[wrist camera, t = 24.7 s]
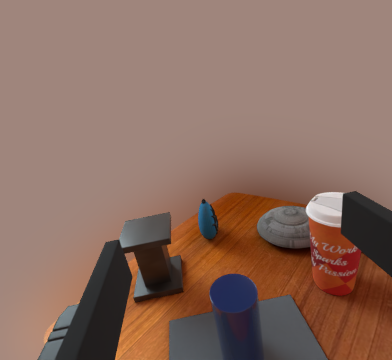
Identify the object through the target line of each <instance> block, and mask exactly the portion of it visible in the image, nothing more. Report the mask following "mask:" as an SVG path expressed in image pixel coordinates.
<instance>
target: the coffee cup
mask: <svg viewBox="0 0 392 360" xmlns="http://www.w3.org/2000/svg"><path fill="white" fill-rule="evenodd" d="M343 194H344V193H339V192H328V193H322V194H318V195H316V196H315V197H314V198H313V199H312V200H311V201H310V202H309V204H308V205H307V207H306V213H307V215H308V216H309V231H310V245H311V258H312V270H313V279H314V282H315V284H316V285H317V286H318V287H319V288H320V289H321V290H323V291H324V292H326V293H329V294H332V295H337V296H342V295H347V294H349V293H351V292H352V290H353V288H354V285H355V281H356V276H357V271H358V266H359V261H360V256H361V250H359V249H358V248H357V247H356V246H355V245H354V244H352V243H351V242H350V241H349V240H348V239H347V238H345V237H344V236H343V235H342V234H341V216H342V199H343Z"/></svg>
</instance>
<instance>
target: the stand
mask: <svg viewBox="0 0 392 360" xmlns="http://www.w3.org/2000/svg"><path fill="white" fill-rule="evenodd" d="M119 241H120V243H121V246H122V249H123V252H124V254H125V253H130V252H134V254H135V257H136V260H137V263H138V266H139V270H138V275H137V281H136V286H135V292H134V297H133V298H134V301H135V302H139V301H144V300H149V299H153V298H158V297H163V296H167V295H172V294H177V293H181V292H184V291H183V275H182V259H181V255H179V256H174V257H170V256H169V253H168V249H167V245H168V244H171V215H170V212H168V213H163V214H158V215H154V216H148V217H143V218H139V219H134V220H129V221H126V222H125V224H124V227H123V230H122V232H121V235H120V238H119Z"/></svg>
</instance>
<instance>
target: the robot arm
mask: <svg viewBox="0 0 392 360" xmlns="http://www.w3.org/2000/svg"><path fill="white" fill-rule="evenodd" d="M341 234H342V235H343V236H344V237H345V238H347V239H348V240H349V241H350V242H351V243H352V244H354V245H355V246H356V247H357V248H358V249H359V250H361V251H362V252H363V253H364V254H365V255H366V256H368V257H369V258H370V259H371V260H372V261H373V262H375V263H376V264H377V265H378V266H379V267H380V268H382V269H383V270H384V271H385V272H386V273H387V274H389V275H390V276H391V277H392V211H390V210H389V209H387V208H385V207H383V206H381V205H380V204H378V203H376V202H374V201H372V200H370V199H369V198H367V197H365V196H363V195H362V194H360V193H358V192H356V191H354V192H350V193H344V194H343V199H342V216H341ZM131 281H132V274H131V271H130V269H129V266H128V263H127V260H126V257H125V255H124V252H123V249H122V246H121V243H120V241H119V240H114V241H110V242H106V243H105V245H104V248H103V250H102V252H101V254H100V257H99V259H98V261H97V264H96V266H95V268H94V270H93V273H92V275H91V277H90V280H89V282H88V284H87V287H86V289H85V291H84V293H83V296H82V298H81V300H80V303H79V304H77V305H72V306H68V307H67V308H66V310H65V311H64V312H63V313H62V314H61V315H60V316H59V318H58V320H57V322H56V324H55V326H54V328H53V332H51V334H50V336H49V338H48V342H46V344H45V346H44V348H43V350H42V352H41V354H40V356H39V358H38V360H115V356H116V351H117V347H118V342H119V337H120V332H121V328H122V323H123V318H124V314H125V309H126V304H127V300H128V295H129V290H130V286H131Z"/></svg>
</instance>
